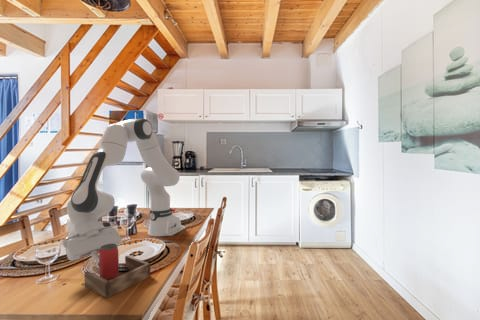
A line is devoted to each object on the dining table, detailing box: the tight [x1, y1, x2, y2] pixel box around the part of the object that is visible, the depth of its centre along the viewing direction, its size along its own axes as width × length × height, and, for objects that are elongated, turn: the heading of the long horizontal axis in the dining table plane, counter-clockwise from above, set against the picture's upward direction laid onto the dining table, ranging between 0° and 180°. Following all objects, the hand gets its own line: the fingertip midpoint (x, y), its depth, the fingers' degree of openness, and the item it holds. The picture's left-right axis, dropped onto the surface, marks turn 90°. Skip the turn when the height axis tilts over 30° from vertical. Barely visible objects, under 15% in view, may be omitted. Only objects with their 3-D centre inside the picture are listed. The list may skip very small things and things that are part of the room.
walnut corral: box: [84, 255, 151, 299], centre depth 96 cm, size 17×14×5 cm
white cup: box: [66, 218, 76, 237], centre depth 144 cm, size 8×8×10 cm
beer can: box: [98, 244, 120, 281], centre depth 99 cm, size 7×7×12 cm
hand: (102, 260), depth 101 cm, fingers closed, pressing on beer can
